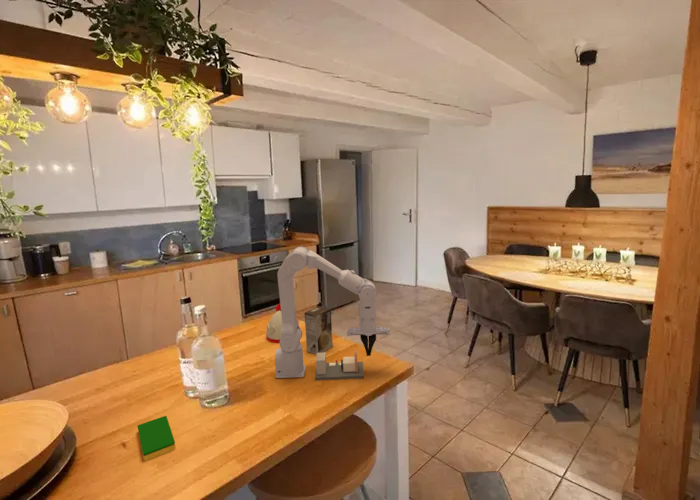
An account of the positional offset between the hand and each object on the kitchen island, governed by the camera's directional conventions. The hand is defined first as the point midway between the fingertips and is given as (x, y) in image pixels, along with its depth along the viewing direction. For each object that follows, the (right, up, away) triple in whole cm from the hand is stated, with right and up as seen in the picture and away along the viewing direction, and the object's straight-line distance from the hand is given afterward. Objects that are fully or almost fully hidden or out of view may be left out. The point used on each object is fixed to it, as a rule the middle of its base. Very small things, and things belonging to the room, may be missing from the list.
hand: (368, 354), depth 128 cm
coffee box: (-18, -4, +20) cm, 27 cm away
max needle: (-11, -4, +4) cm, 13 cm away
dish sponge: (-57, -14, -31) cm, 66 cm away
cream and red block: (-7, -5, +2) cm, 8 cm away
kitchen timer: (-36, -2, +33) cm, 49 cm away
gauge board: (-10, -6, +1) cm, 12 cm away
